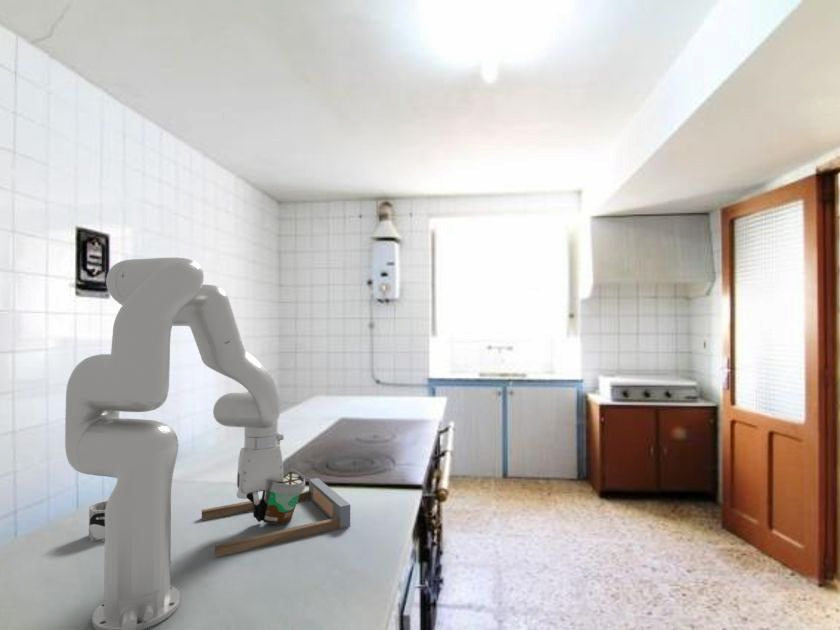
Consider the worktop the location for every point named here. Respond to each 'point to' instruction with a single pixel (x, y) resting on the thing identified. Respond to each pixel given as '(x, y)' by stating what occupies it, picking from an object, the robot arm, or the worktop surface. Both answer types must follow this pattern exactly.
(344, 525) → the end stop
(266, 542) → the guide track
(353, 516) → the worktop surface
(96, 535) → the mug
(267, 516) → the food container
